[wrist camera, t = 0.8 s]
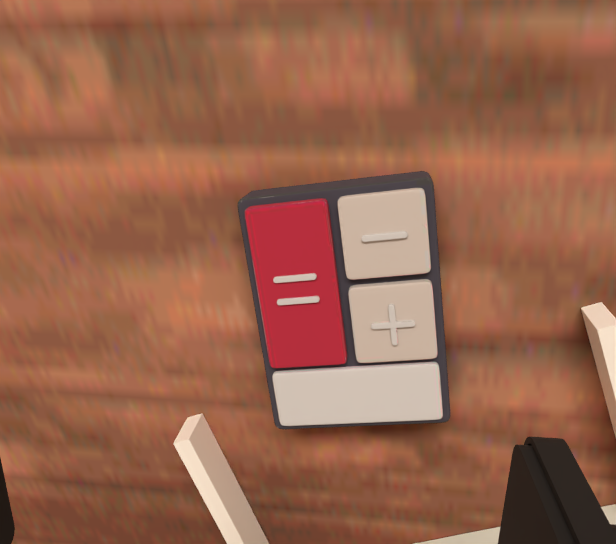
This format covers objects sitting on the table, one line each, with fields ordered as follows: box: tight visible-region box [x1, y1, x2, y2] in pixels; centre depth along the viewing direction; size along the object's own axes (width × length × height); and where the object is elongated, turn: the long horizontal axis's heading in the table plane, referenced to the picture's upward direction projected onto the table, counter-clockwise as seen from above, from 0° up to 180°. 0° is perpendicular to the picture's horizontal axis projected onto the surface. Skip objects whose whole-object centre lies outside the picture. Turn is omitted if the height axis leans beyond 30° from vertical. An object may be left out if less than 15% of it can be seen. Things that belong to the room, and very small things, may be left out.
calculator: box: [238, 171, 450, 429], centre depth 35 cm, size 11×4×15 cm
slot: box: [173, 302, 616, 544], centre depth 39 cm, size 28×16×3 cm, turn 112°
